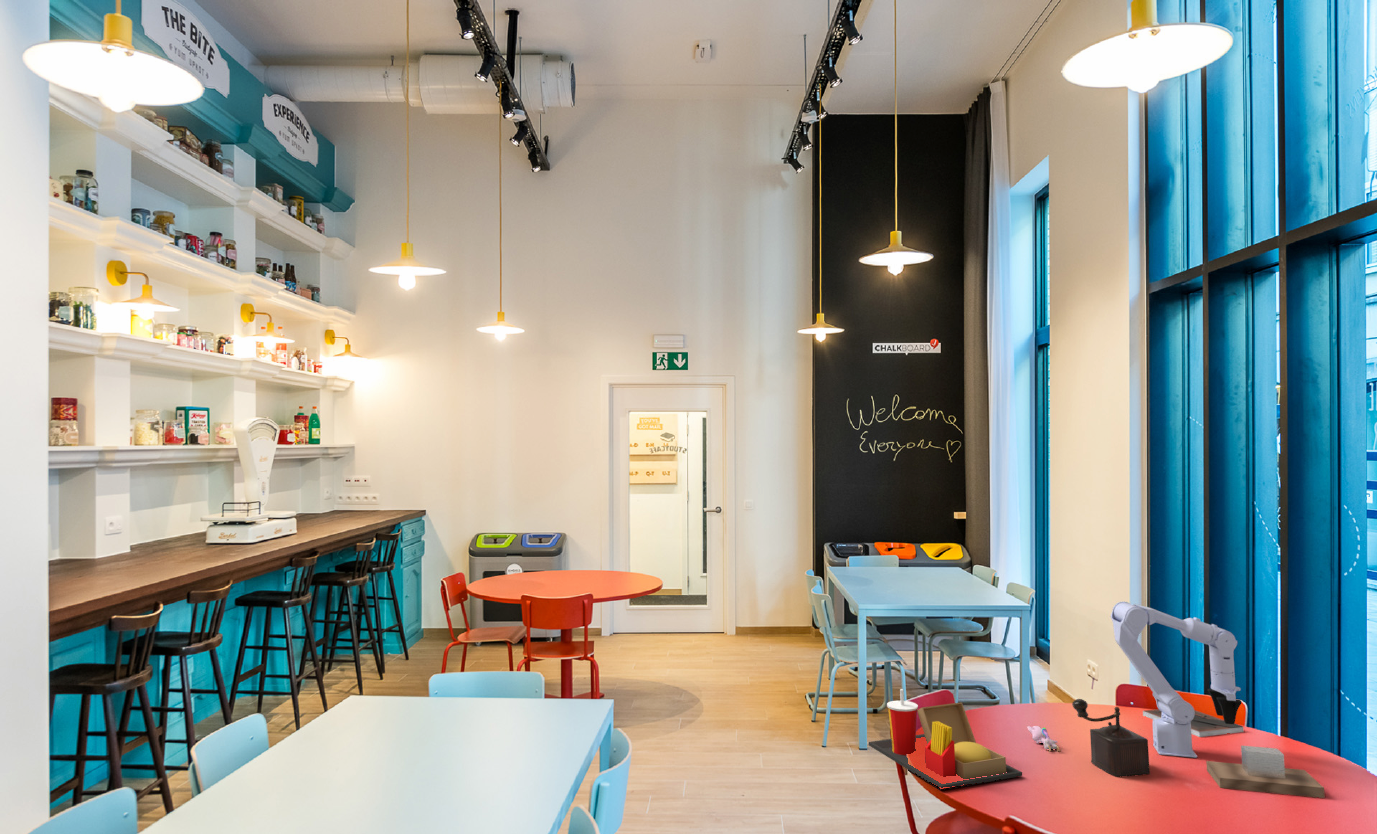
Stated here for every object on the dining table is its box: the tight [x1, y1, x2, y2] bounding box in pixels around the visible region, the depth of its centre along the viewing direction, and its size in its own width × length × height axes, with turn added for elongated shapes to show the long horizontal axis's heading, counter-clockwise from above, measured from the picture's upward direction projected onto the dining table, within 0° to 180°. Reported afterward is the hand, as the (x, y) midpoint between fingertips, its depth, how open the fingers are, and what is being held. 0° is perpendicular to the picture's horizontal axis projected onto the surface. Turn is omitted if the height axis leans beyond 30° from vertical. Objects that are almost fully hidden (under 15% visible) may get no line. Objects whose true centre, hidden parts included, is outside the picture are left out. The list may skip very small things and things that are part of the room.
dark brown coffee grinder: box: [1071, 698, 1151, 778], centre depth 215 cm, size 16×11×18 cm
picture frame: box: [1142, 708, 1244, 738], centre depth 250 cm, size 16×2×22 cm
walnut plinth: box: [1206, 760, 1326, 799], centre depth 202 cm, size 22×12×2 cm, turn 70°
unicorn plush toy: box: [1026, 725, 1061, 752], centre depth 234 cm, size 6×6×15 cm
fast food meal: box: [868, 688, 1023, 788], centre depth 222 cm, size 26×35×18 cm
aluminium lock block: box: [1240, 745, 1286, 779], centre depth 203 cm, size 8×4×6 cm, turn 70°
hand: (1225, 719), depth 224 cm, fingers open, 7 cm apart
